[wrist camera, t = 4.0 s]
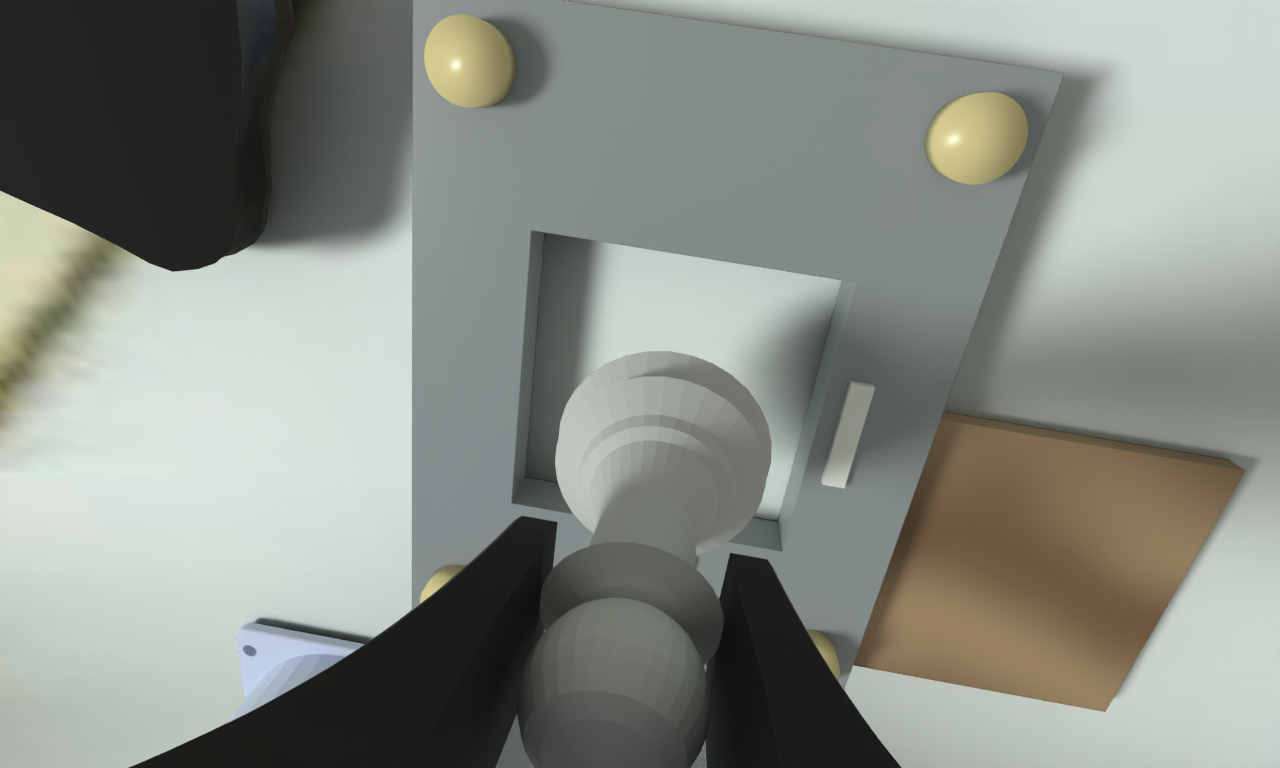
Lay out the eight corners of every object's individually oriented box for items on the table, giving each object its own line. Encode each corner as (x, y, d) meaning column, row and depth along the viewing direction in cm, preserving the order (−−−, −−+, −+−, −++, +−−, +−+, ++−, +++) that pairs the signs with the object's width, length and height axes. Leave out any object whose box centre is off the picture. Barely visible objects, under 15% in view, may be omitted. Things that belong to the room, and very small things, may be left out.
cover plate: (833, 660, 22) (846, 718, 20) (430, 585, 23) (401, 634, 21) (1032, 76, 15) (1084, 71, 13) (439, -10, 16) (396, -29, 14)
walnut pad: (1095, 696, 22) (1105, 711, 21) (822, 646, 22) (825, 660, 21) (1229, 460, 18) (1245, 471, 18) (901, 405, 18) (907, 413, 18)
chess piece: (811, 406, 14) (896, 747, 7) (709, 559, 16) (688, 951, 9) (612, 307, 14) (473, 556, 6) (532, 477, 16) (358, 813, 8)
